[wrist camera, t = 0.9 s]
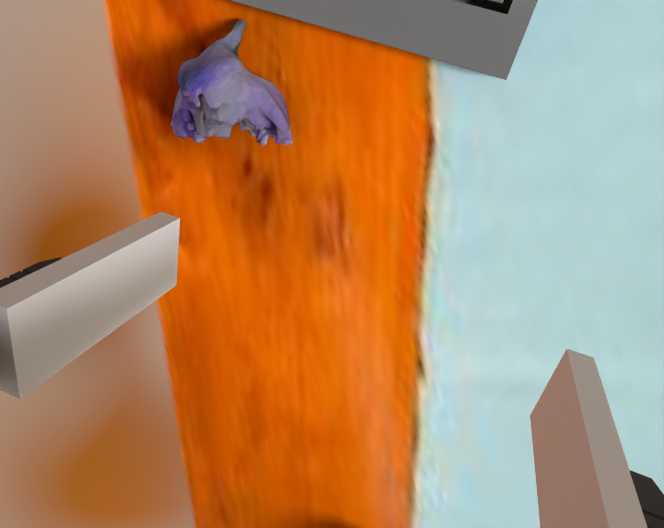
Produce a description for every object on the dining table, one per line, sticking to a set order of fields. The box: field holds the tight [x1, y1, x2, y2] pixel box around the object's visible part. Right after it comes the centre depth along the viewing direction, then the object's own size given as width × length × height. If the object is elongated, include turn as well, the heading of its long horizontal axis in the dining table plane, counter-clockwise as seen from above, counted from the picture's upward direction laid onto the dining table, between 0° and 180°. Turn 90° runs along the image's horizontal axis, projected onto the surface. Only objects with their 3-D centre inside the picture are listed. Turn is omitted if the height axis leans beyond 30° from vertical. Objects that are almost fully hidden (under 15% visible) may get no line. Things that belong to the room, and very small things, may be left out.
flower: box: [171, 19, 292, 145], centre depth 34 cm, size 9×9×10 cm
